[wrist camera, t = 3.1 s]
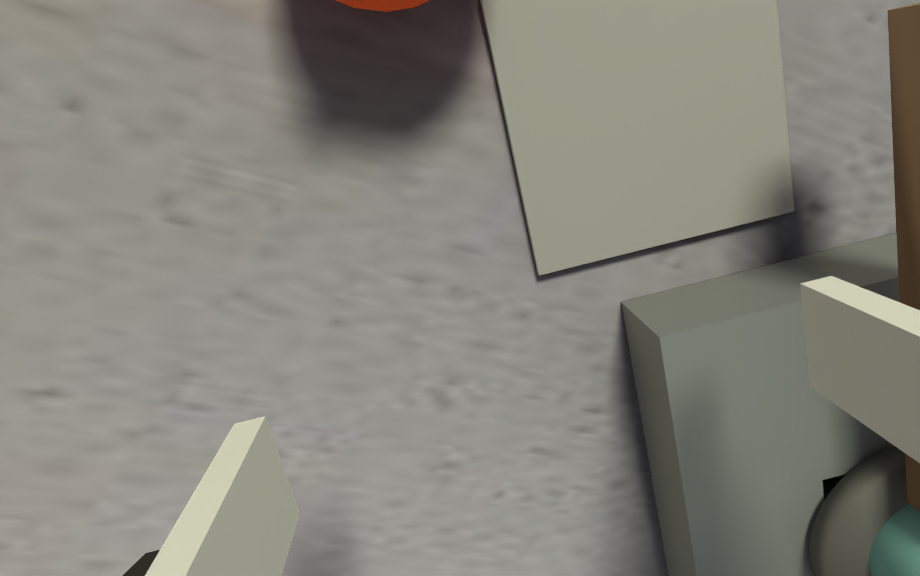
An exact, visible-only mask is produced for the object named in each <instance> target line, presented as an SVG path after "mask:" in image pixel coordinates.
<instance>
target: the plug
mask: <svg viewBox="0 0 920 576" xmlns="http://www.w3.org/2000/svg"><path fill="white" fill-rule="evenodd" d="M822 481H823V493H824V502H823V504H822V506H821V508H820V509H819V511H818V514H817V516H816V518H815V521H814V524H813V527H812V531H811V535H810V543H809V557H810V563H811V568H812V570H813V573H814V576H920V511H918V510H917V509H916V508H915V507H913V506H912V505H911V504H910V503H908V502H907V486H906V461H905V453H904V452H903V451H901V450H900V449H898V448H897V447H896V446H894V447H891V448H889V449H886V450H884V451H882V452H879V453H877V454H875V455H874V456H872V457H870V458H868V459H867V460H865V461H863V462H862V463H861V464H859V465H858V466H856V467H855V468H854V469H852V470H851V471H850V472H849V473H848V474H845V475H841V476H837V477H833V478H829V479H825V480H822Z"/></svg>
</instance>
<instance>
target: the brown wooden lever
mask: <svg viewBox="0 0 920 576" xmlns="http://www.w3.org/2000/svg"><path fill="white" fill-rule="evenodd" d="M888 30H889V55H890V80H891V106H892V131H893V157H894V182H895V207H896V233H897V258H898V283H899V302H900V303H902V304H905V305H907V306H910V307H912V308H915V309H917V310H920V3H916V4H912V5H908V6H904V7H900V8H896V9H892V10H888ZM905 461H906V486H907V502H908V503H910V504H911V505H912V506H913V507H915V508H916V509H917V510H918V511H920V463H919V462H917V461H916V460H914V459H913V458H911V457H910V456H908V455H907V454H906V453H905Z"/></svg>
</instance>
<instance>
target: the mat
mask: <svg viewBox="0 0 920 576" xmlns="http://www.w3.org/2000/svg"><path fill="white" fill-rule="evenodd" d="M480 4H481V8H482V13H483V18H484V23H485V27H486V32H487V37H488V42H489V46H490V51H491V56H492V61H493V66H494V70H495V75H496V80H497V85H498V89H499V94H500V99H501V104H502V108H503V113H504V118H505V123H506V127H507V132H508V137H509V142H510V146H511V151H512V156H513V161H514V166H515V170H516V175H517V180H518V185H519V189H520V194H521V199H522V204H523V208H524V213H525V218H526V223H527V227H528V232H529V237H530V242H531V246H532V251H533V256H534V261H535V266H536V270H537V273H538V275H543V274H547V273H551V272H555V271H559V270H563V269H567V268H571V267H575V266H579V265H583V264H587V263H591V262H595V261H599V260H603V259H607V258H611V257H615V256H619V255H623V254H627V253H631V252H635V251H639V250H643V249H647V248H651V247H655V246H659V245H663V244H667V243H671V242H675V241H679V240H683V239H687V238H691V237H695V236H698V235H702V234H706V233H710V232H714V231H718V230H722V229H726V228H730V227H734V226H738V225H742V224H746V223H750V222H754V221H758V220H762V219H766V218H770V217H774V216H778V215H782V214H786V213H790V212H794V211H795V208H794V197H793V185H792V173H791V162H790V150H789V138H788V127H787V115H786V103H785V92H784V80H783V68H782V57H781V45H780V33H779V22H778V10H777V0H480Z"/></svg>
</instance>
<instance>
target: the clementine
mask: <svg viewBox="0 0 920 576" xmlns="http://www.w3.org/2000/svg"><path fill="white" fill-rule="evenodd" d="M336 1H338V2H341V3H343V4H346V5H348V6H350V7H353V8H359V9H367V10H375V11H383V12H388V11H394V10H401V9H407V8H413V7H417V6H419V5H421V4H423V3H425V2H427V1H429V0H336Z"/></svg>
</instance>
